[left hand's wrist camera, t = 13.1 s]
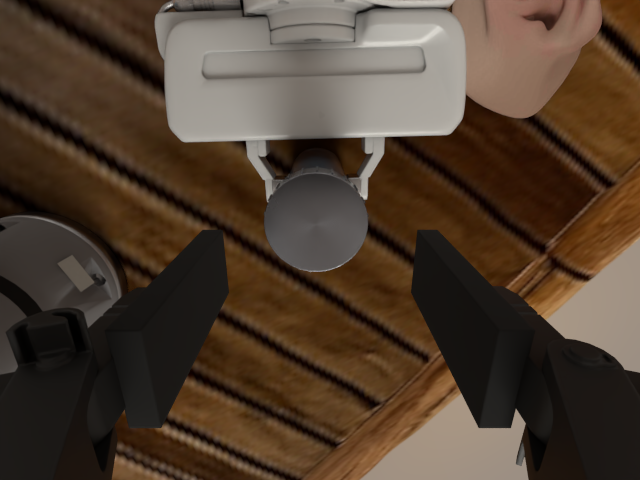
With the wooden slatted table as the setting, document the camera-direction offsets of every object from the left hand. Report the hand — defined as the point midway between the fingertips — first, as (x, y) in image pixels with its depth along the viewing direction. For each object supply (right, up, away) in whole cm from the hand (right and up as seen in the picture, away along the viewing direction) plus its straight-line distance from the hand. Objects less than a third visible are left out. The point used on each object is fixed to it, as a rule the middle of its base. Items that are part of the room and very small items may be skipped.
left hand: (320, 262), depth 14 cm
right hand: (0, +4, +13) cm, 14 cm away
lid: (0, +2, +5) cm, 5 cm away
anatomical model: (+16, +18, +15) cm, 29 cm away
